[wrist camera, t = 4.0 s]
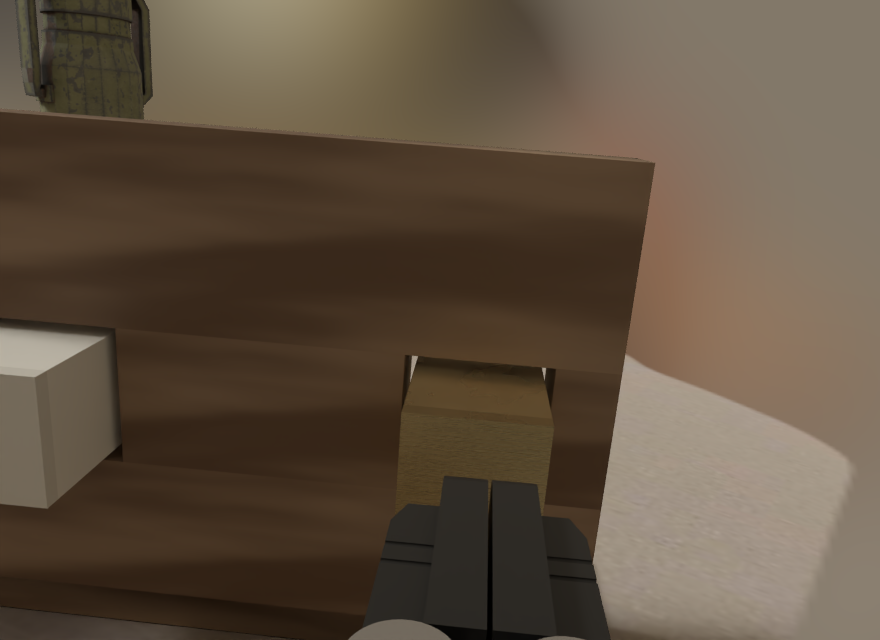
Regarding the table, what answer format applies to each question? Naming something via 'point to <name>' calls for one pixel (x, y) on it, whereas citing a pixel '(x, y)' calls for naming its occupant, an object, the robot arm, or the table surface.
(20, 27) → the thermos
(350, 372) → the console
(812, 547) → the table surface
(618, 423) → the table surface
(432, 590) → the robot arm
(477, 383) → the yellow rectangular block
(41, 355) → the key white
